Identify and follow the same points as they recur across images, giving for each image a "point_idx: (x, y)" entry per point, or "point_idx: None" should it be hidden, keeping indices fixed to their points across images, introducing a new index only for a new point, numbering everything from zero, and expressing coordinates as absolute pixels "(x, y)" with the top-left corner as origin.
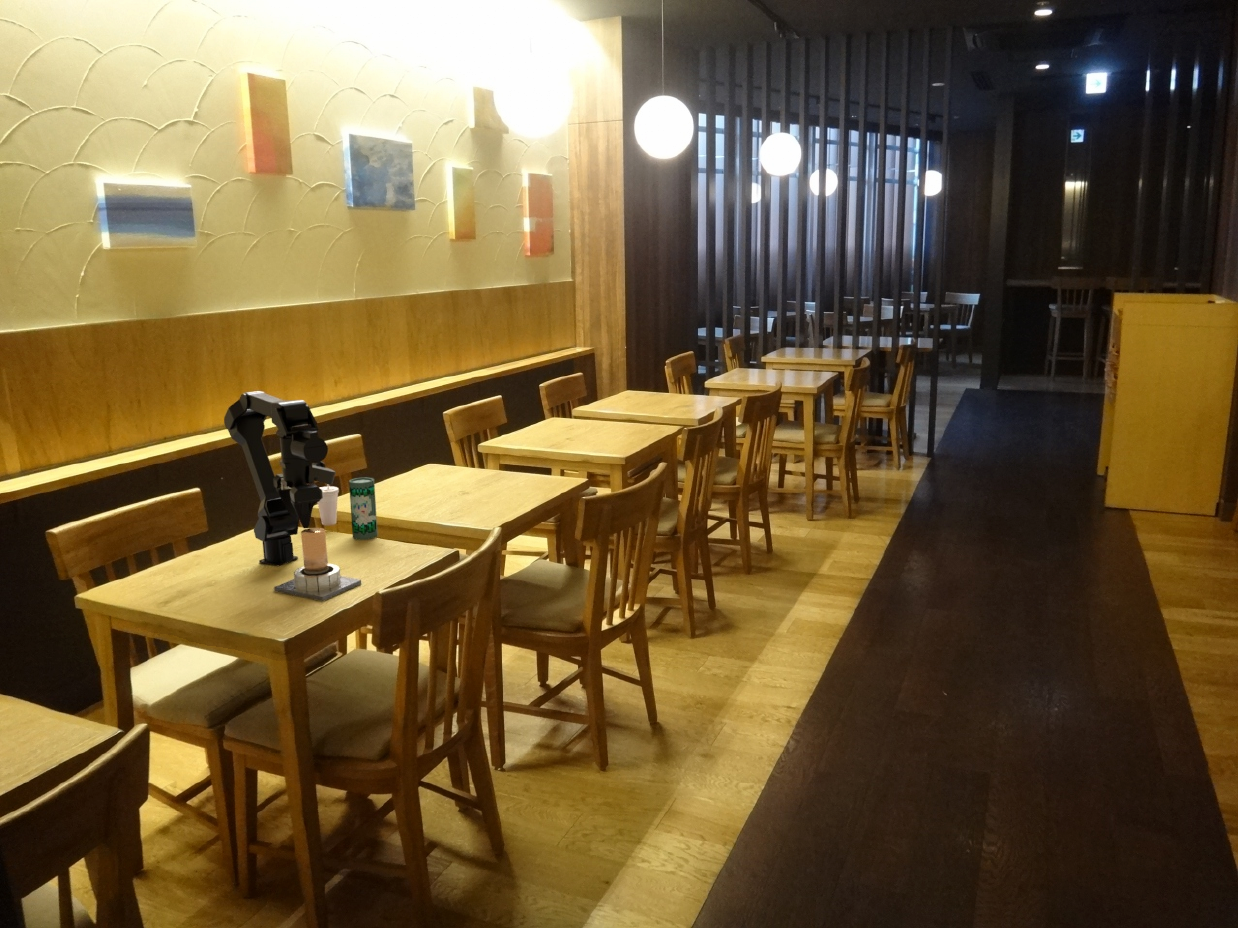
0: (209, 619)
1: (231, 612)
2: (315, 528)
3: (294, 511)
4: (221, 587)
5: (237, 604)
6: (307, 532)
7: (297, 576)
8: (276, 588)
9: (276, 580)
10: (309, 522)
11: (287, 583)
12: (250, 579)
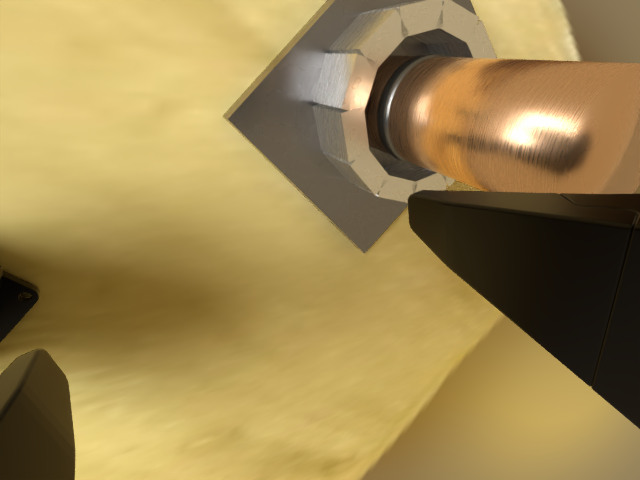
0: (463, 344)
1: (449, 315)
2: (583, 135)
3: (42, 427)
4: (263, 401)
5: (409, 317)
6: (613, 186)
7: (449, 186)
8: (369, 244)
9: (247, 260)
10: (461, 191)
11: (348, 215)
12: (207, 348)
